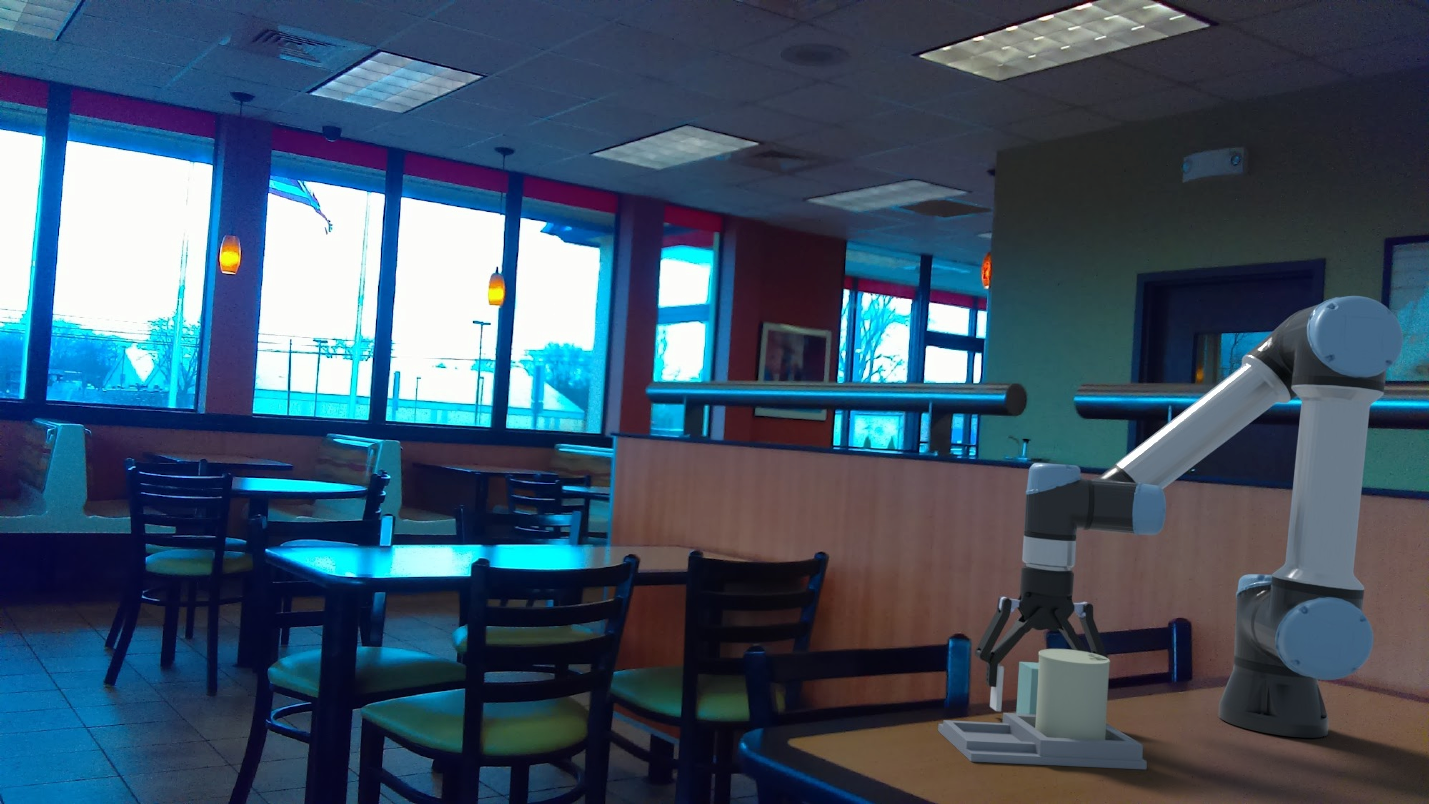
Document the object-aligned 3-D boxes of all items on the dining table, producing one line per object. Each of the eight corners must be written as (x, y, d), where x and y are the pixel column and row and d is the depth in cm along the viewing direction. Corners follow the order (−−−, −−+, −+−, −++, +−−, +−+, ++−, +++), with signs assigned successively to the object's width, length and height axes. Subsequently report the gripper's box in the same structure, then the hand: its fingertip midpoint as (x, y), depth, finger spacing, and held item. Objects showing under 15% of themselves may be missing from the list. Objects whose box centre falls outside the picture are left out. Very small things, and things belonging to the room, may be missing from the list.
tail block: (1048, 716, 163) (1051, 663, 163) (1061, 725, 158) (1065, 670, 158) (1016, 715, 163) (1019, 661, 163) (1028, 724, 158) (1031, 668, 158)
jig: (1097, 738, 152) (1099, 717, 152) (1146, 769, 138) (1147, 745, 138) (938, 730, 150) (939, 709, 150) (970, 761, 136) (972, 737, 136)
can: (1112, 756, 139) (1117, 662, 139) (1038, 748, 141) (1043, 656, 141) (1098, 736, 148) (1103, 648, 149) (1029, 729, 150) (1033, 642, 150)
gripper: (1115, 568, 166) (1107, 709, 165) (959, 558, 164) (949, 700, 163) (1139, 575, 159) (1130, 722, 158) (975, 564, 156) (965, 713, 156)
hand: (1038, 711), depth 161 cm, fingers open, 12 cm apart
